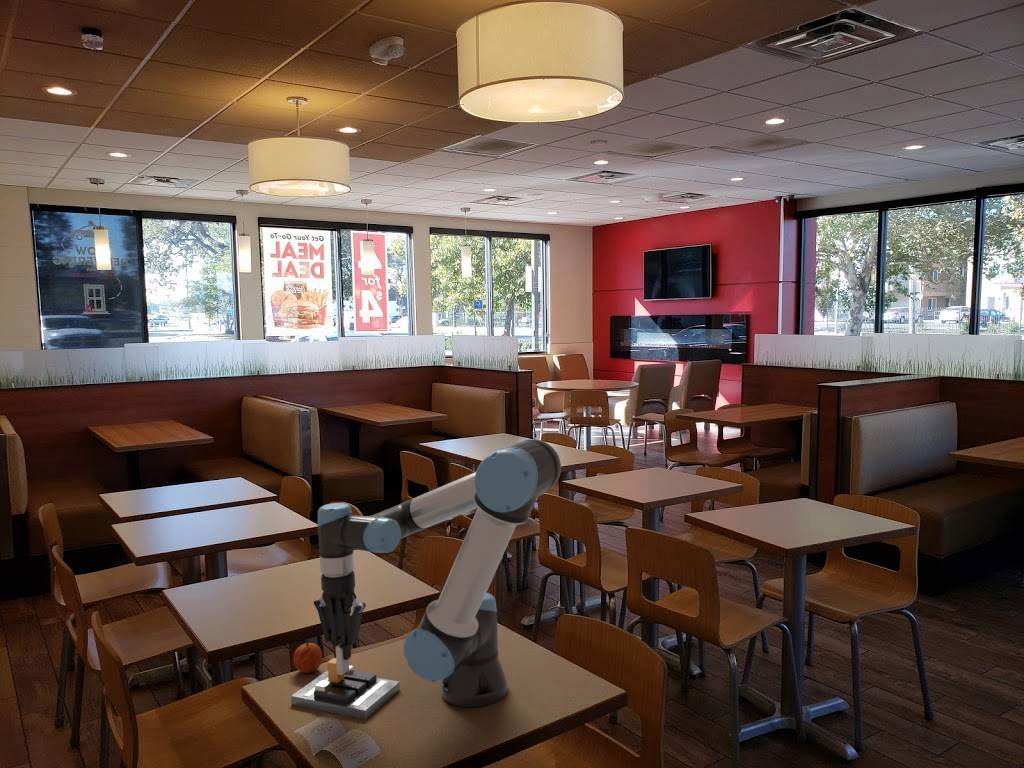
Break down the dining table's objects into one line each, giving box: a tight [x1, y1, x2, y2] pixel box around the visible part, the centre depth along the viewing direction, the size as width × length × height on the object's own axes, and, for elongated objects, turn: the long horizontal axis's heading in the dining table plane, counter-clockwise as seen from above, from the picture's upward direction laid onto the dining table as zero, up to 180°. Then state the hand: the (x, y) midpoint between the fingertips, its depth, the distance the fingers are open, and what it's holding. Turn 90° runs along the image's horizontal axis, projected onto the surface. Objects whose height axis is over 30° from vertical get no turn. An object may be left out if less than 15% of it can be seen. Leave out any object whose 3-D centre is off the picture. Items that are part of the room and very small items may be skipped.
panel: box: [290, 664, 401, 720], centre depth 173 cm, size 20×14×5 cm
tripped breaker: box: [327, 657, 345, 683], centre depth 174 cm, size 3×3×4 cm
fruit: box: [293, 640, 323, 674], centre depth 187 cm, size 7×7×8 cm
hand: (343, 672), depth 173 cm, fingers closed
